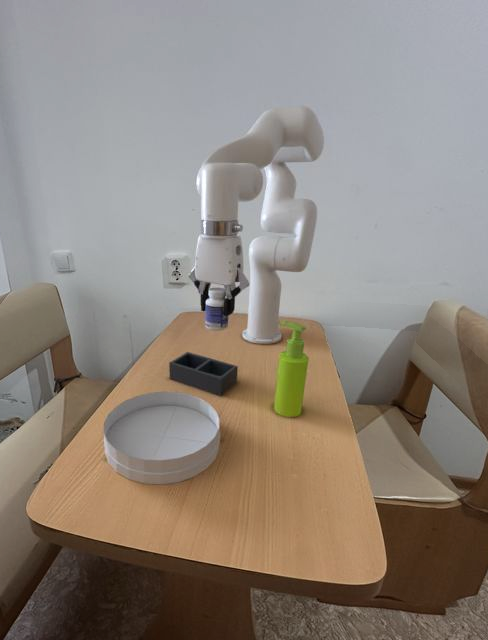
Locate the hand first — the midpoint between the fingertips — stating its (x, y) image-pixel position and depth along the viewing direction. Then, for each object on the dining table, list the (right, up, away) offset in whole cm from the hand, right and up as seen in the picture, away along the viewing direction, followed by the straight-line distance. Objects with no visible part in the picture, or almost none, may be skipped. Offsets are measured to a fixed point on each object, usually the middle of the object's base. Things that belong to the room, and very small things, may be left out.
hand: (217, 311), depth 85 cm
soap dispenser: (+15, -22, -2) cm, 27 cm away
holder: (-3, -17, +10) cm, 20 cm away
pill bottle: (0, -4, +2) cm, 4 cm away
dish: (-11, -27, -12) cm, 32 cm away
